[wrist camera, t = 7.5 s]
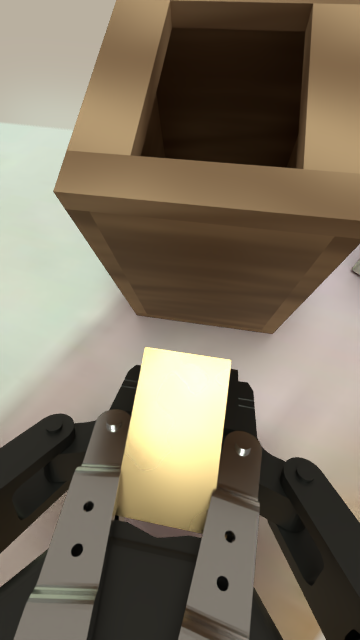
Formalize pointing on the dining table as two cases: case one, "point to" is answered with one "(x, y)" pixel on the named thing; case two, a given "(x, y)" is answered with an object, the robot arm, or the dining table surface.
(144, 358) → the gold rectangular block
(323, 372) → the dining table surface
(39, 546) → the dining table surface
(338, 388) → the dining table surface
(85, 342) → the dining table surface
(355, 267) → the supplement box
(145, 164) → the brown wooden bin
